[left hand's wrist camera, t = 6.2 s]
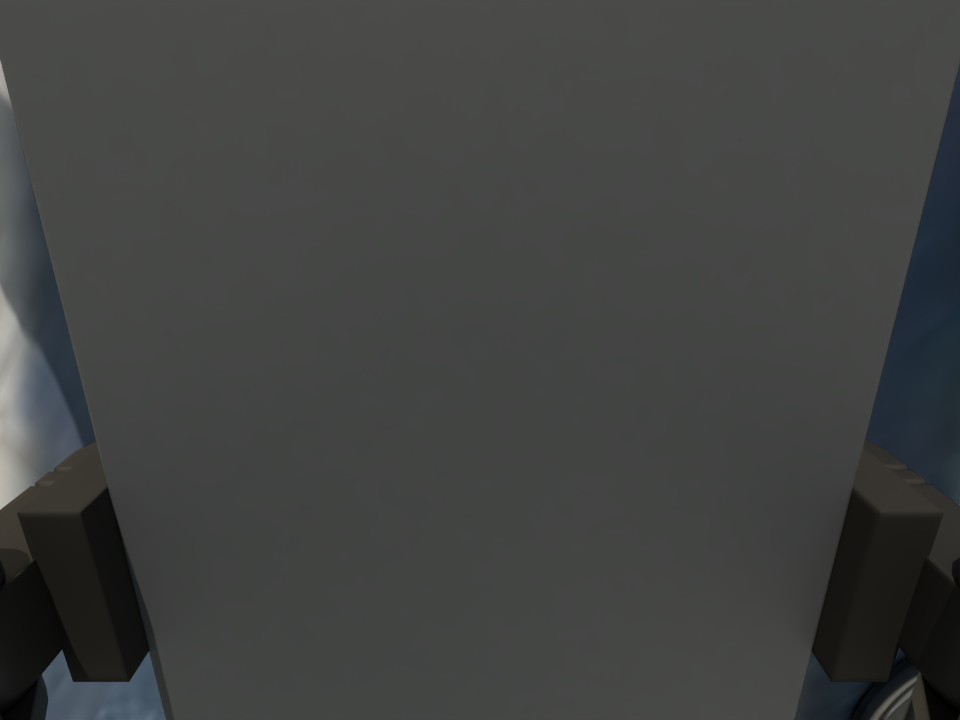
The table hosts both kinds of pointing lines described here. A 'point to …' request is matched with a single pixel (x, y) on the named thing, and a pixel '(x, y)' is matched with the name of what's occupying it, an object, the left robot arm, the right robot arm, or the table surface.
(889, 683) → the right robot arm
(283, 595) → the thick board
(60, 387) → the table surface
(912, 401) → the table surface
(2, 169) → the table surface
